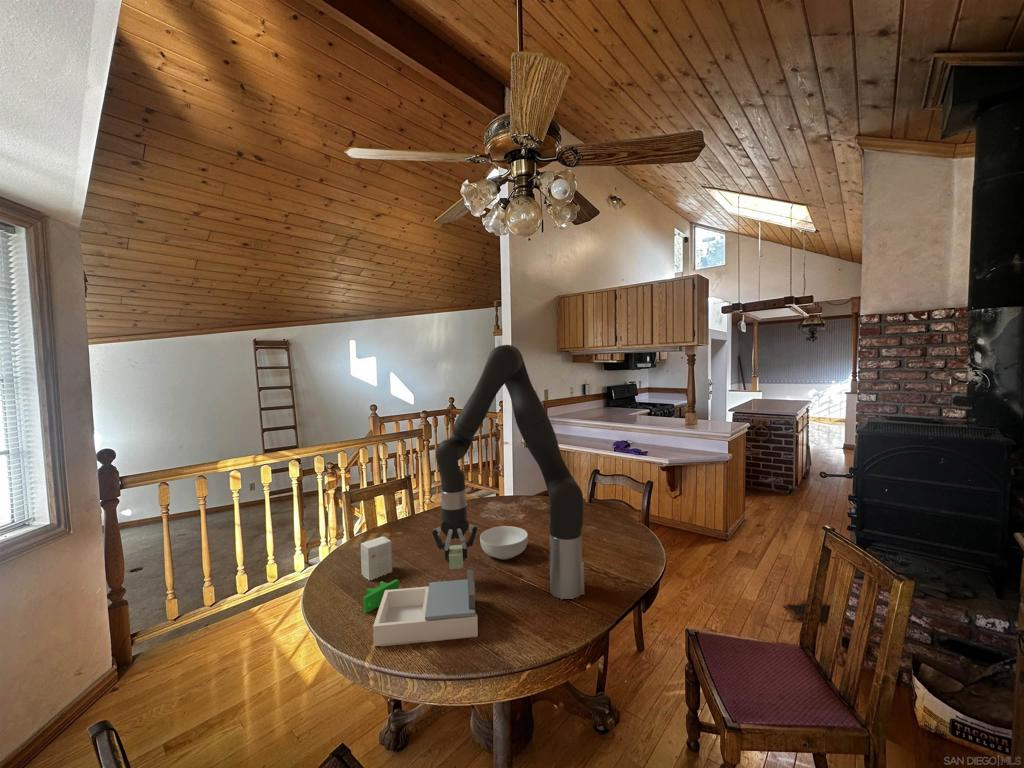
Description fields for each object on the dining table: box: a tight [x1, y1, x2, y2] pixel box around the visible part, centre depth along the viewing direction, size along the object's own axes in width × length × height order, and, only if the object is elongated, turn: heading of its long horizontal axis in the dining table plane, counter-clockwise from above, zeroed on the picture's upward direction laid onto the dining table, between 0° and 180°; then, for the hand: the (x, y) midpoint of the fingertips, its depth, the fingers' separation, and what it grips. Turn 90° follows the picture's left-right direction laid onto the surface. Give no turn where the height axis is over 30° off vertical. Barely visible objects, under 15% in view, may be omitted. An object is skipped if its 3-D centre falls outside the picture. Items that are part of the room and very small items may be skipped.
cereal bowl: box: [479, 525, 529, 560], centre depth 144 cm, size 17×17×7 cm
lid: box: [425, 569, 476, 620], centre depth 106 cm, size 12×16×4 cm
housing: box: [372, 582, 479, 647], centre depth 106 cm, size 24×16×5 cm, turn 98°
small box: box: [360, 535, 393, 582], centre depth 131 cm, size 8×6×10 cm
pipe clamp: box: [362, 579, 400, 614], centre depth 115 cm, size 11×4×5 cm, turn 145°
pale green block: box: [448, 544, 464, 570], centre depth 124 cm, size 4×7×4 cm, turn 7°
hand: (456, 560), depth 124 cm, fingers closed on pale green block, 4 cm apart
